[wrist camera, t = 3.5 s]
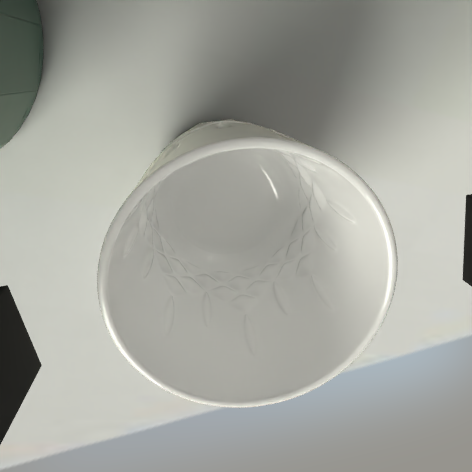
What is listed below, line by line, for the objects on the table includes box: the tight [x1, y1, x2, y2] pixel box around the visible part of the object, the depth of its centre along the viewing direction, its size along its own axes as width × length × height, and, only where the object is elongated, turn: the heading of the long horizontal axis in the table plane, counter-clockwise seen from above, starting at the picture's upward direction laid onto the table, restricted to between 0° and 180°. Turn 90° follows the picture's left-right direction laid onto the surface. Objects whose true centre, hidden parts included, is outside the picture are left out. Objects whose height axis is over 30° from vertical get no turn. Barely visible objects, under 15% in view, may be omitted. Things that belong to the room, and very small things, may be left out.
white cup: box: [97, 119, 398, 408], centre depth 15 cm, size 8×8×10 cm
